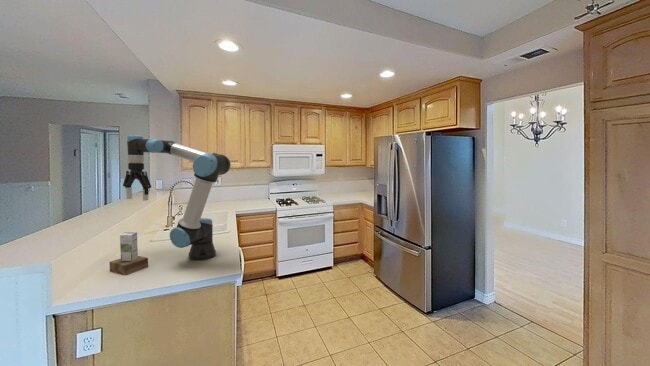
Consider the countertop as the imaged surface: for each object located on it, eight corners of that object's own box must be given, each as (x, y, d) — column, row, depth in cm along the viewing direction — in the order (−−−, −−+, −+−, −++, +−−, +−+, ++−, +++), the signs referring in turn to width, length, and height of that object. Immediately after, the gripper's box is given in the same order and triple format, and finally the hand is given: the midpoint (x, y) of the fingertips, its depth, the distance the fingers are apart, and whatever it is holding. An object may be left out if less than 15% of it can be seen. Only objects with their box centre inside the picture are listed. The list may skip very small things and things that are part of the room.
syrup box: (138, 257, 149) (137, 231, 148) (132, 261, 143) (131, 234, 142) (126, 258, 148) (125, 231, 147) (120, 262, 143) (119, 234, 141)
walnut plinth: (148, 266, 150) (147, 257, 149) (125, 275, 139) (124, 265, 138) (133, 263, 154) (132, 254, 154) (109, 271, 143) (109, 261, 143)
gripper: (157, 163, 157) (158, 200, 159) (128, 162, 166) (129, 197, 168) (145, 163, 150) (146, 202, 152) (114, 162, 159) (116, 198, 161)
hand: (137, 199), depth 160 cm, fingers open, 13 cm apart
